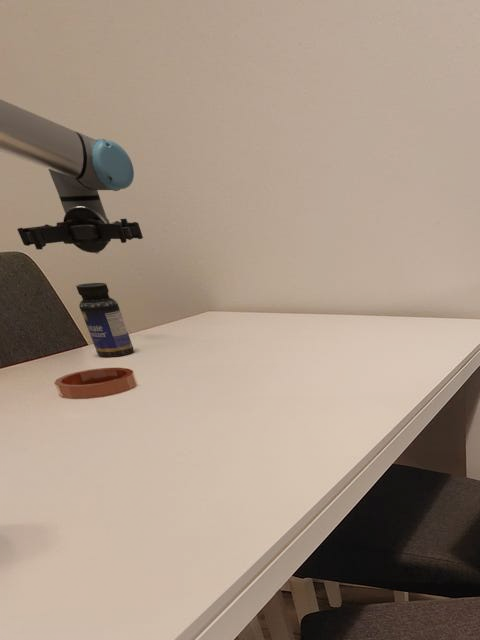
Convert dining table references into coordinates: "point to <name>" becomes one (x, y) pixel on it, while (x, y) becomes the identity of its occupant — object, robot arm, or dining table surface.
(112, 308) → the pill bottle
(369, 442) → the dining table surface
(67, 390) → the holder
